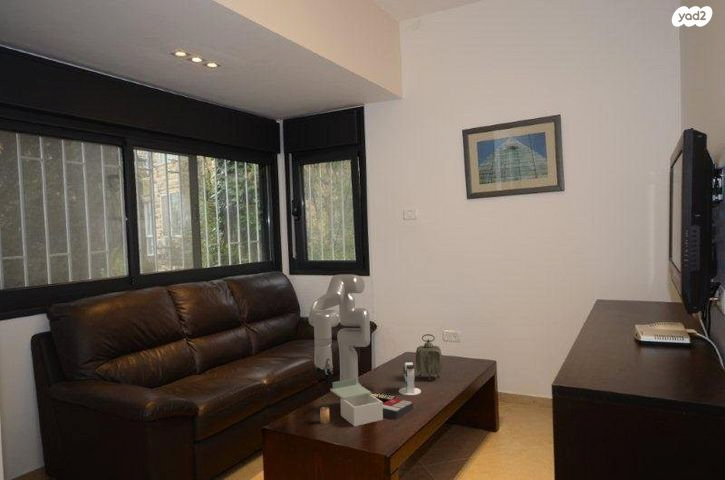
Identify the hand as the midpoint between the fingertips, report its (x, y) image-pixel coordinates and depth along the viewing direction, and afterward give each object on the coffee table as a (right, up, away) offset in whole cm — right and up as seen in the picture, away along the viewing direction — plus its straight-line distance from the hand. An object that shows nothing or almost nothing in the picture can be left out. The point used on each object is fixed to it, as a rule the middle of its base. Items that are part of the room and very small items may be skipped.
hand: (324, 380), depth 210 cm
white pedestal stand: (+41, -17, +37) cm, 58 cm away
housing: (+16, -18, +4) cm, 25 cm away
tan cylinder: (0, -19, 0) cm, 19 cm away
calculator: (+32, -18, +10) cm, 38 cm away
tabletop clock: (+54, -16, +56) cm, 79 cm away
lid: (+11, -10, +14) cm, 20 cm away
